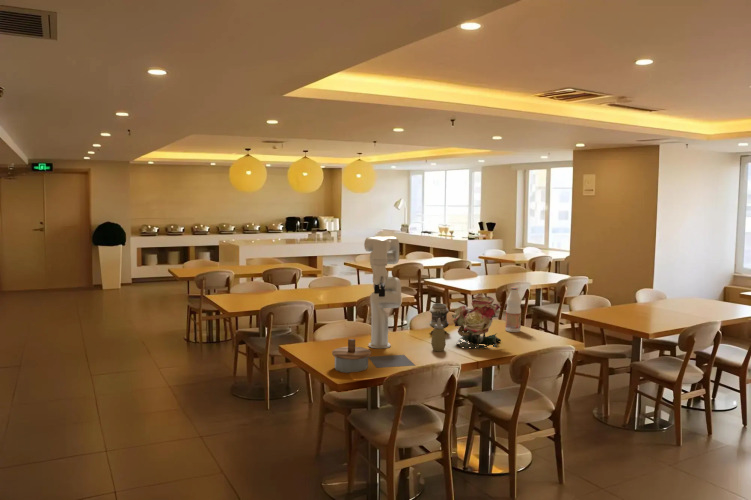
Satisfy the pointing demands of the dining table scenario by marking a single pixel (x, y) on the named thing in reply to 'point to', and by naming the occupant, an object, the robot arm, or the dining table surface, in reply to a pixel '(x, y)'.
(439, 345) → the squeeze bottle
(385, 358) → the gray square mat
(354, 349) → the walnut lid
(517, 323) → the fruit juice
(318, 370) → the dining table surface
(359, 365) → the slate bowl
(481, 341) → the rose bouquet
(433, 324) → the apothecary jar
